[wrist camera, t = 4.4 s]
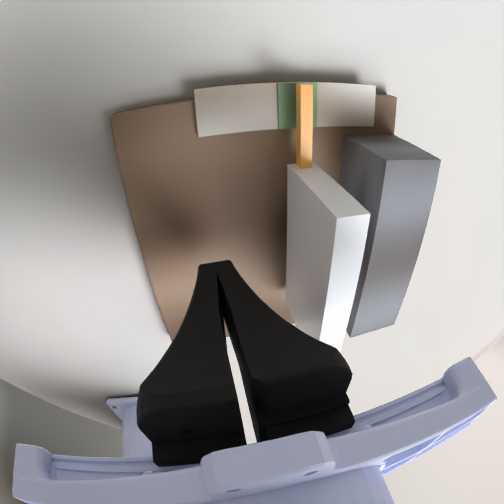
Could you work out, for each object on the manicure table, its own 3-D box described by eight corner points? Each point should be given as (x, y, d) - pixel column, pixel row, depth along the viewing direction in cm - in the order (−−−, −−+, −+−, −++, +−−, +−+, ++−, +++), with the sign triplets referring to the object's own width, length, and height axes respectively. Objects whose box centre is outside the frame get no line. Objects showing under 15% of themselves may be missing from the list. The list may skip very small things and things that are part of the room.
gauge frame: (357, 299, 21) (385, 344, 18) (172, 336, 19) (176, 393, 16) (387, 85, 13) (448, 103, 9) (111, 102, 11) (81, 122, 7)
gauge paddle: (305, 296, 18) (337, 362, 14) (285, 300, 17) (314, 369, 14) (314, 83, 11) (382, 102, 7) (286, 83, 11) (344, 100, 7)
